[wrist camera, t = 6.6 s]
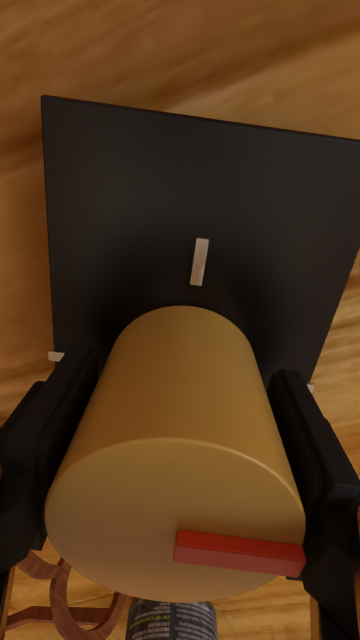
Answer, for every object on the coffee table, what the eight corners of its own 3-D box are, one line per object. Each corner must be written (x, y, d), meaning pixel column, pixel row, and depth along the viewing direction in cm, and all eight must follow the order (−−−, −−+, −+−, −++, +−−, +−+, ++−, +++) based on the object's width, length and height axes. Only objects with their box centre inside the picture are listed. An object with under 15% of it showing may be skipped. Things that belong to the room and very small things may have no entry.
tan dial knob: (107, 415, 12) (41, 605, 7) (114, 293, 10) (26, 434, 5) (236, 434, 12) (269, 633, 7) (272, 317, 10) (357, 479, 5)
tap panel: (64, 106, 10) (31, 91, 8) (364, 149, 10) (407, 144, 8) (72, 415, 15) (54, 452, 13) (268, 439, 15) (279, 479, 13)
